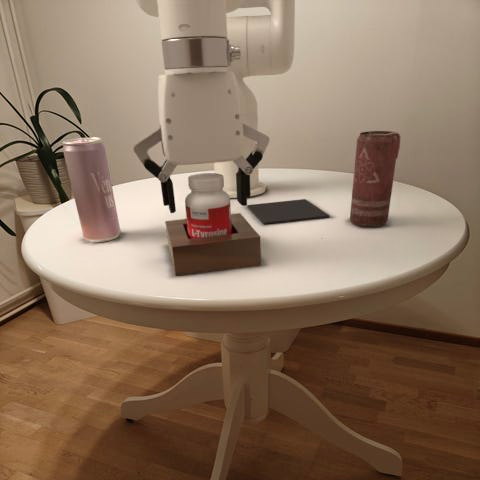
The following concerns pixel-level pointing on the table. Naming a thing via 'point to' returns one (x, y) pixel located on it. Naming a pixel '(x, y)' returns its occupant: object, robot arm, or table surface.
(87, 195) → the beverage can
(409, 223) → the table surface
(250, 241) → the holder
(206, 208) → the pill bottle
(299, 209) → the coaster
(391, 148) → the can
